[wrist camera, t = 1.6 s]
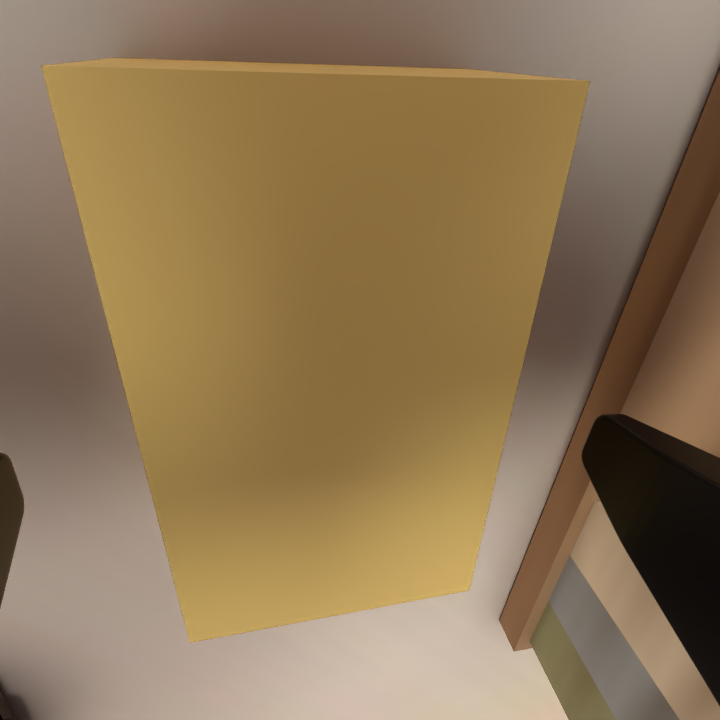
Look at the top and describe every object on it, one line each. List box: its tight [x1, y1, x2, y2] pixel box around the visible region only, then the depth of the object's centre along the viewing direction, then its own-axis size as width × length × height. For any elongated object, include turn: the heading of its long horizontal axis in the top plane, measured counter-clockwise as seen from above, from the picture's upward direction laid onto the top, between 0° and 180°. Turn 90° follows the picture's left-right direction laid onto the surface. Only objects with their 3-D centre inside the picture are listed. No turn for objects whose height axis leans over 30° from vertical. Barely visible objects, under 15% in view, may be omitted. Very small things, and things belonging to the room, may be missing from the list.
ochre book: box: [41, 58, 590, 643], centre depth 10 cm, size 6×10×4 cm, turn 178°
